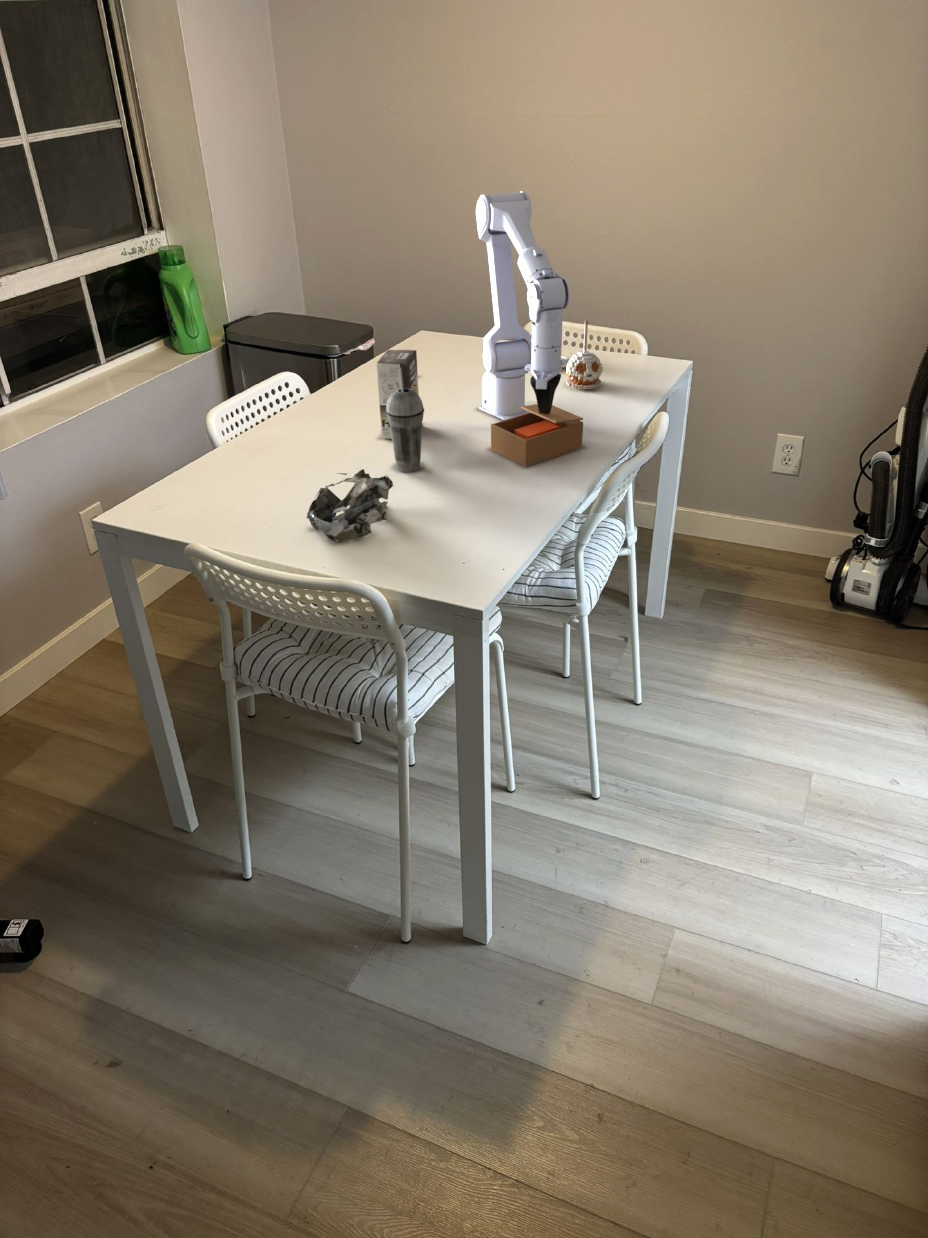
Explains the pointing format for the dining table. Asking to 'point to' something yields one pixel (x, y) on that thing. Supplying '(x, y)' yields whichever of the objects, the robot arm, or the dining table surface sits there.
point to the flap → (553, 414)
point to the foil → (358, 514)
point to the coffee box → (395, 380)
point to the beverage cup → (406, 427)
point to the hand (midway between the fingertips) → (544, 412)
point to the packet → (536, 429)
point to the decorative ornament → (584, 368)
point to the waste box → (534, 439)
